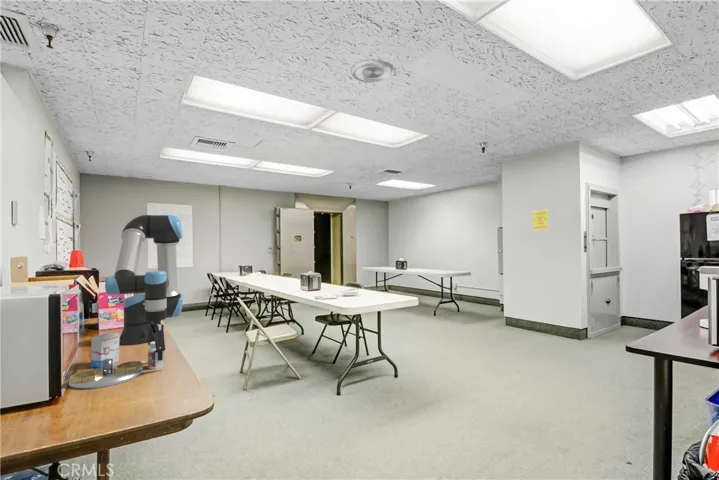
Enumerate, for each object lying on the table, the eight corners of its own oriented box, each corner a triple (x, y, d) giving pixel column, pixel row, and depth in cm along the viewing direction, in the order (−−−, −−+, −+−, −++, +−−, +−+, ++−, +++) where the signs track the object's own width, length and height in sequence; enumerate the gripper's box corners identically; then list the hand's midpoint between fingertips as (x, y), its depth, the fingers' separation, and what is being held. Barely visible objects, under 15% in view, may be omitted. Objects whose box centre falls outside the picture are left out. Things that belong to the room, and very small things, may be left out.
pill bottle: (145, 369, 135) (144, 344, 135) (152, 364, 140) (152, 340, 141) (159, 369, 135) (159, 343, 135) (166, 364, 141) (166, 340, 141)
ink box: (100, 367, 137) (100, 337, 138) (90, 367, 138) (90, 337, 139) (119, 360, 146) (119, 332, 146) (109, 360, 147) (109, 332, 147)
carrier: (98, 367, 138) (98, 351, 138) (154, 365, 139) (154, 350, 139) (51, 390, 116) (51, 371, 116) (118, 388, 117) (118, 369, 117)
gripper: (138, 307, 145) (139, 359, 144) (151, 315, 127) (151, 375, 126) (159, 305, 150) (159, 355, 149) (174, 312, 132) (174, 369, 131)
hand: (155, 364), depth 138 cm, fingers open, 12 cm apart
